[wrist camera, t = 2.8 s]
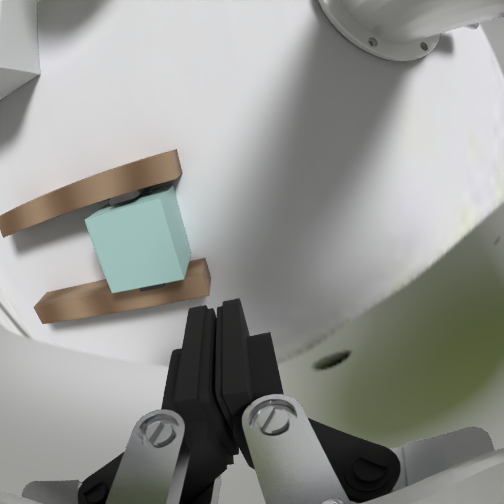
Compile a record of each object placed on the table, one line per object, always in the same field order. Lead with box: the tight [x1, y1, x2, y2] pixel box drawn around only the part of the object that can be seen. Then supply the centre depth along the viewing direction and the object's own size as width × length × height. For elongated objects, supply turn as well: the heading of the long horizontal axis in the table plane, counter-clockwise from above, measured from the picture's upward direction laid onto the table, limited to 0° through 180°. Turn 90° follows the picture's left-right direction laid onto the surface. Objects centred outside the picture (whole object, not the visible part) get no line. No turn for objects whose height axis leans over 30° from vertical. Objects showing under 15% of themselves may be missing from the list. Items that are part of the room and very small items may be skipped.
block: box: [85, 186, 192, 293], centre depth 22 cm, size 6×6×5 cm
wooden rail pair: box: [0, 149, 211, 324], centre depth 23 cm, size 18×12×4 cm, turn 102°
